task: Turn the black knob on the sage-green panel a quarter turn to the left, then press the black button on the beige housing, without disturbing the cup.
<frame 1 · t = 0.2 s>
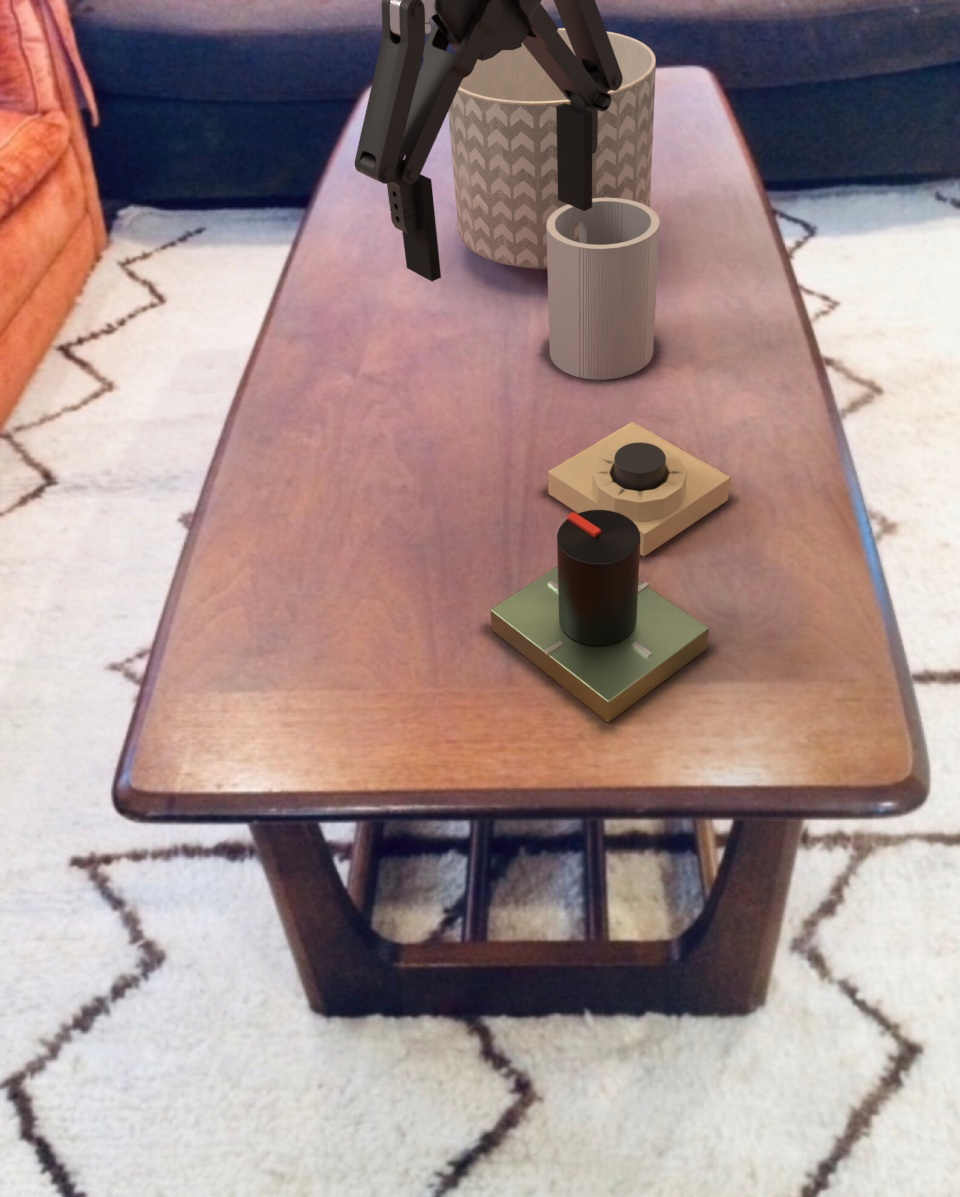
hand: (502, 237, 75), 18 cm above the table, tool pointing down, fingers open, 13 cm apart
button box: (637, 497, 83), on the table
knob: (598, 576, 68), point 6 cm above the table, hinge at 0.0°
planter: (553, 252, 112), on the table
button: (639, 466, 78), point 4 cm above the table, slide at 0.1 cm
dial panel: (597, 639, 72), on the table
cup: (601, 353, 98), on the table
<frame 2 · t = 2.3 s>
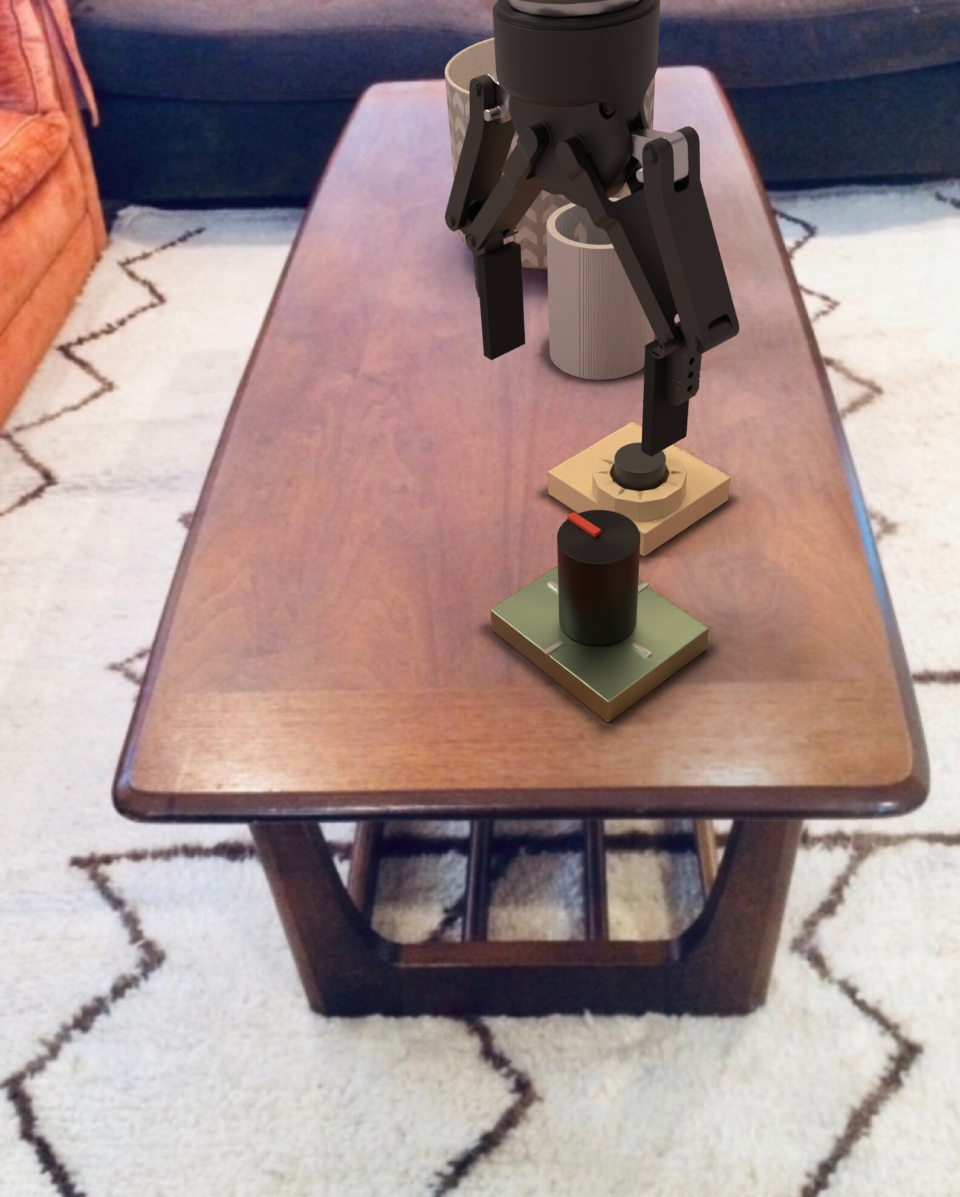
hand: (579, 394, 64), 17 cm above the table, tool pointing down, fingers open, 13 cm apart
nothing on the table moved.
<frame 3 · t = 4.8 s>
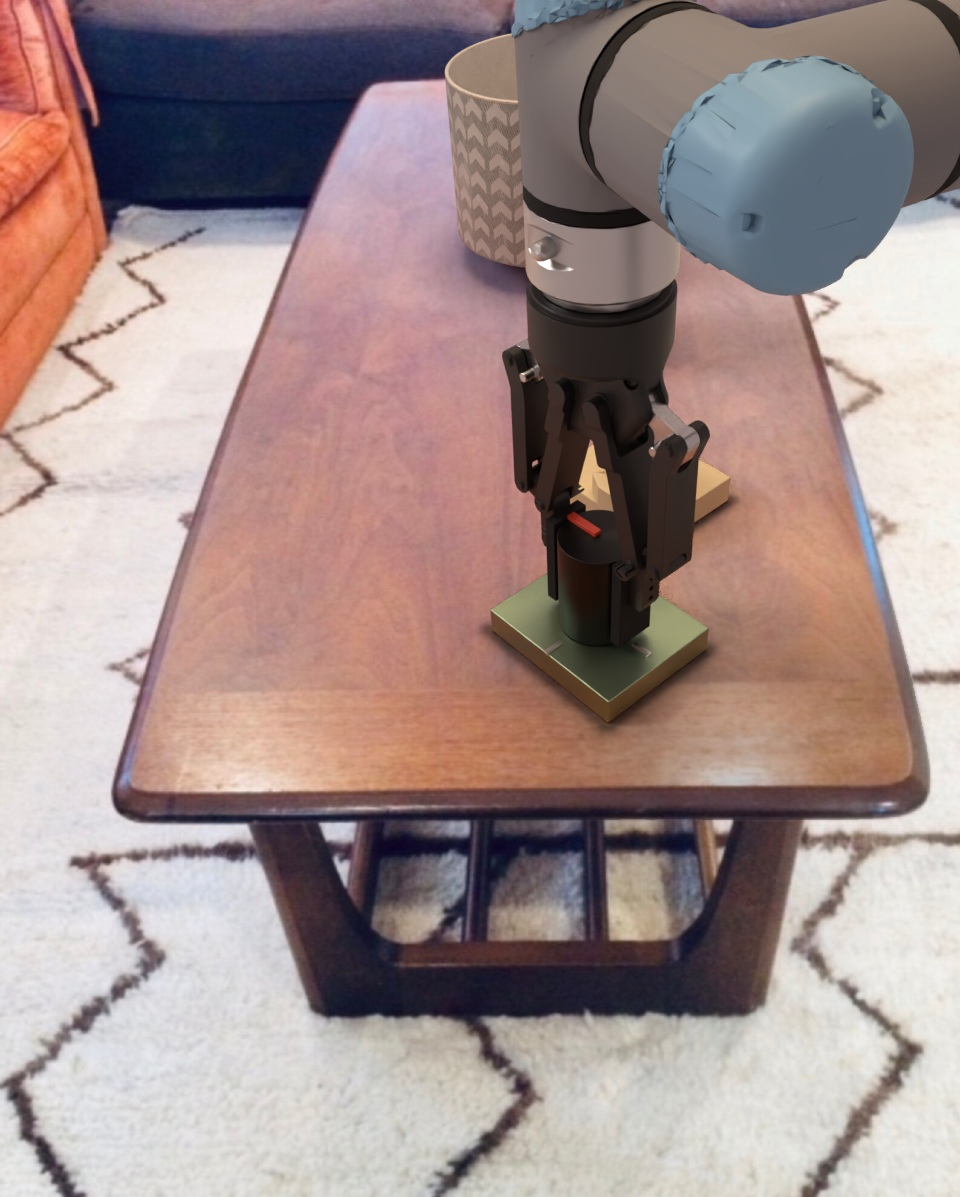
hand: (597, 610, 70), 3 cm above the table, tool pointing down, fingers closed on knob, 5 cm apart
knob: (598, 576, 68), point 6 cm above the table, hinge at 0.1°, touching gripper
everything else where it was.
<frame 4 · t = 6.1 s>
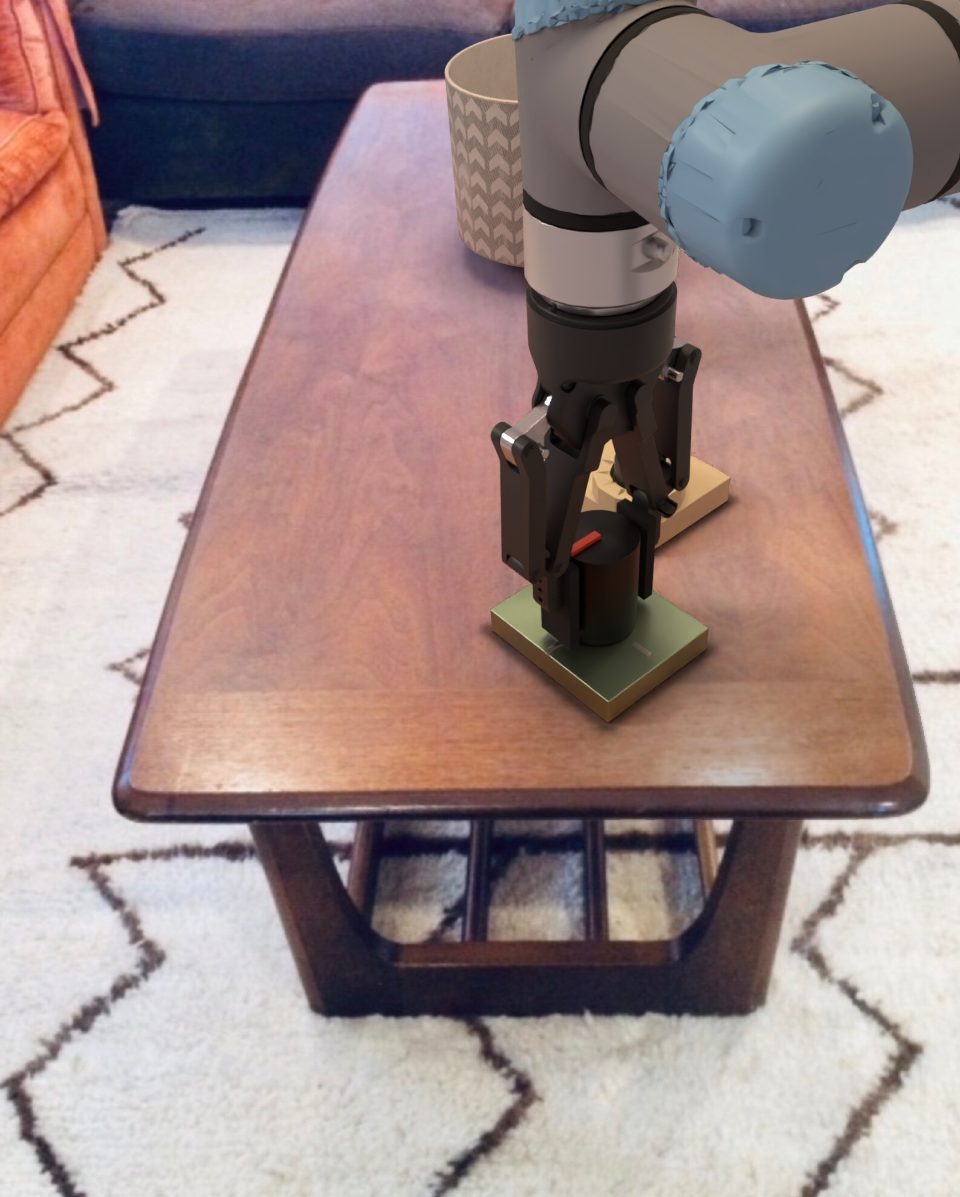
hand: (597, 610, 70), 3 cm above the table, tool pointing down, fingers open, 6 cm apart
knob: (598, 576, 68), point 6 cm above the table, hinge at 89.8°
everything else where it was.
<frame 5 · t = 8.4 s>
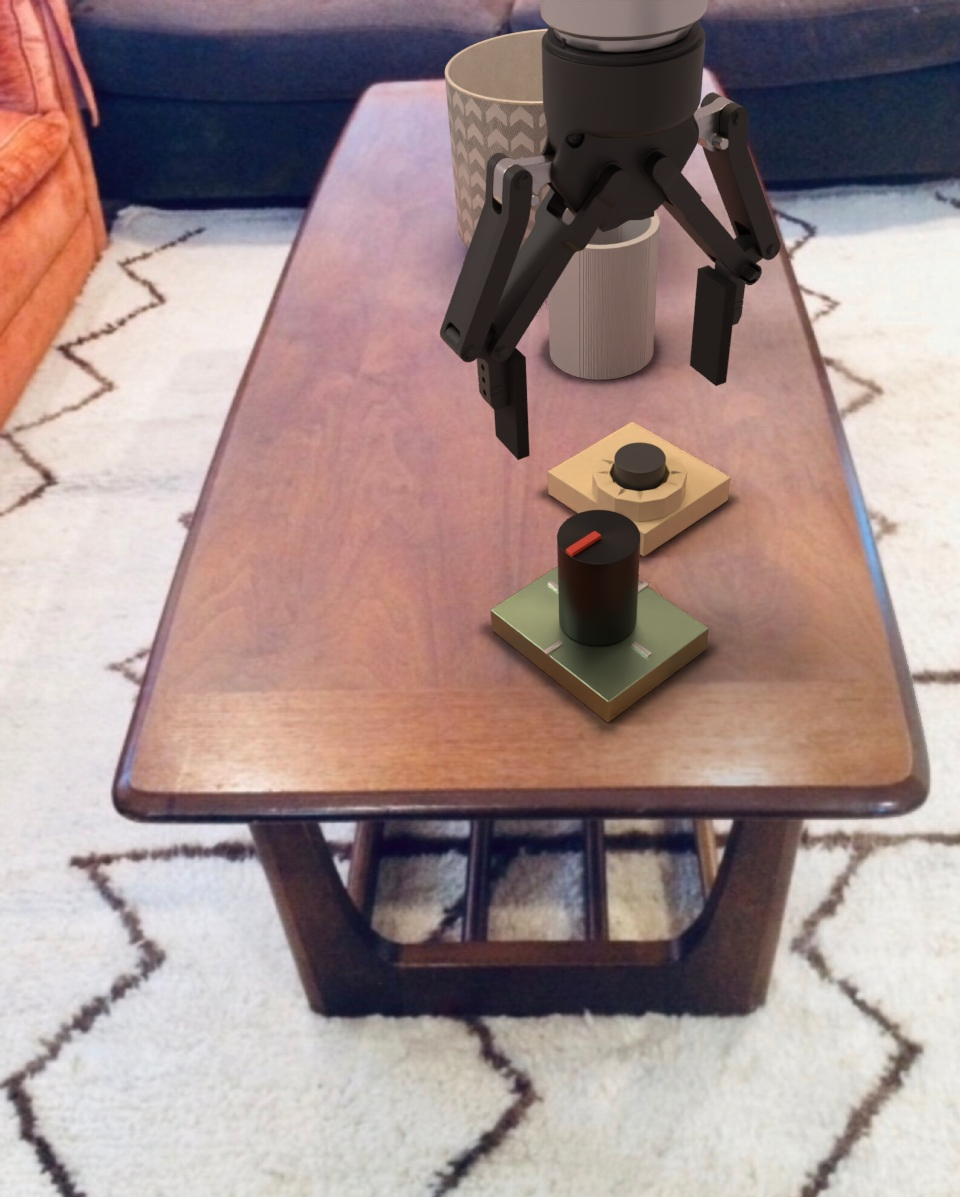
hand: (613, 409, 65), 15 cm above the table, tool pointing down, fingers open, 13 cm apart
nothing on the table moved.
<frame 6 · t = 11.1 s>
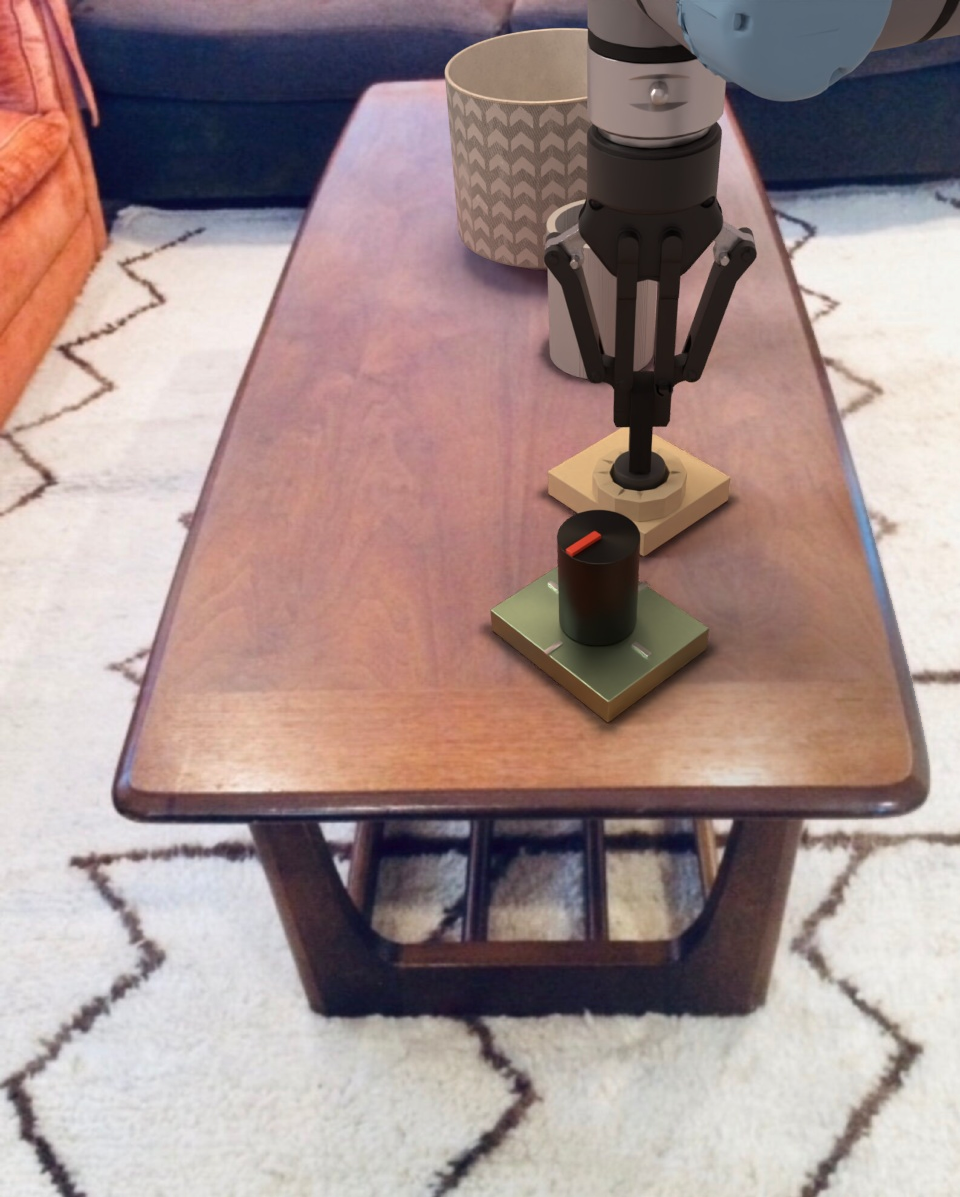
hand: (639, 460, 78), 5 cm above the table, tool pointing down, fingers closed
button: (639, 473, 78), point 4 cm above the table, slide at -0.5 cm, touching gripper
everything else where it was.
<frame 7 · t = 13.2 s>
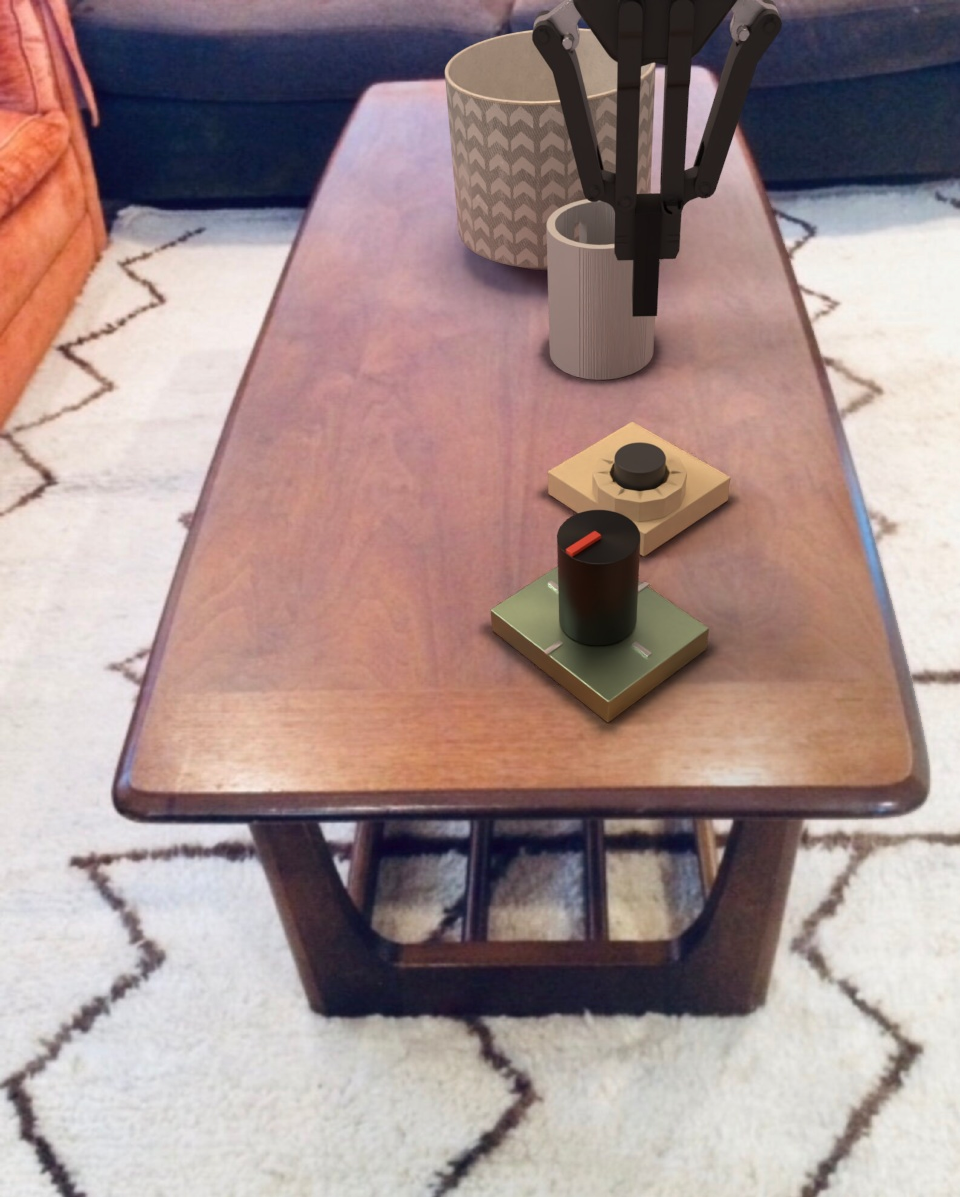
hand: (644, 304, 68), 18 cm above the table, tool pointing down, fingers closed
button: (639, 466, 78), point 4 cm above the table, slide at 0.1 cm
everything else where it was.
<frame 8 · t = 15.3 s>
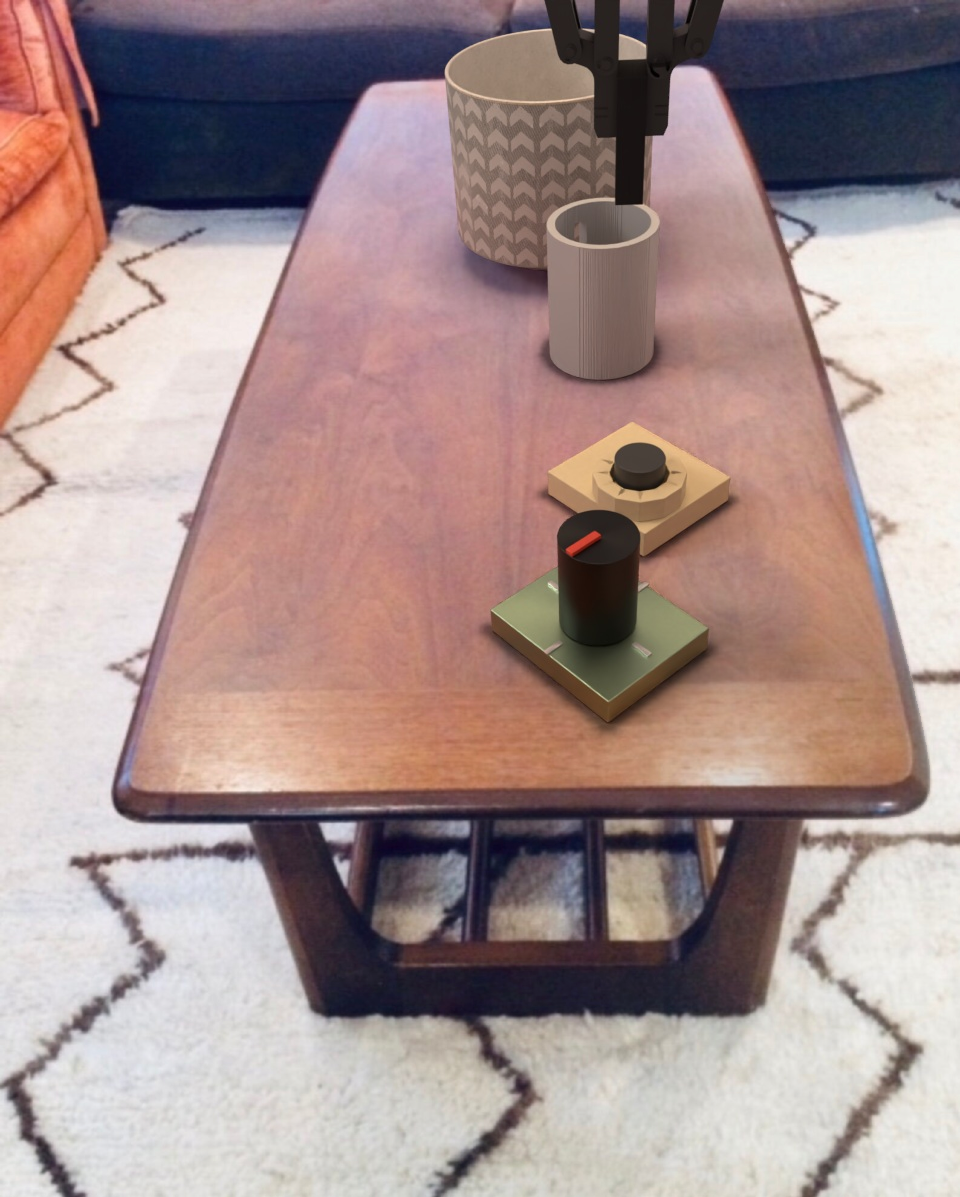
hand: (628, 193, 60), 26 cm above the table, tool pointing down, fingers closed
nothing on the table moved.
at the end: knob at +90° (first picture: +0°); button pushed in 1.0 cm at the most during the clip, back to where it started at the end; cup moved 0.2 cm from its start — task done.
